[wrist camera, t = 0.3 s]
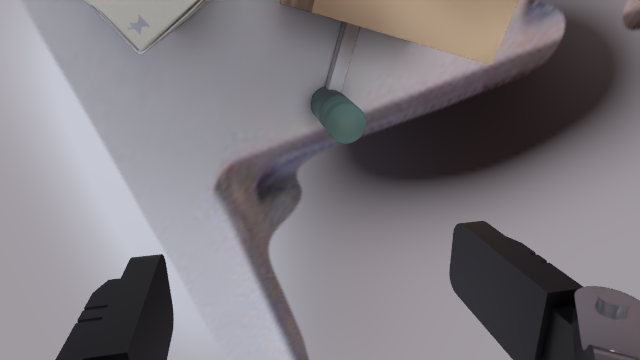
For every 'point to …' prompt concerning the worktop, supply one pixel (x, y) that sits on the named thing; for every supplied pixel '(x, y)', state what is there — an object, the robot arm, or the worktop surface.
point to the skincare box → (145, 18)
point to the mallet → (340, 94)
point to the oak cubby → (427, 21)
